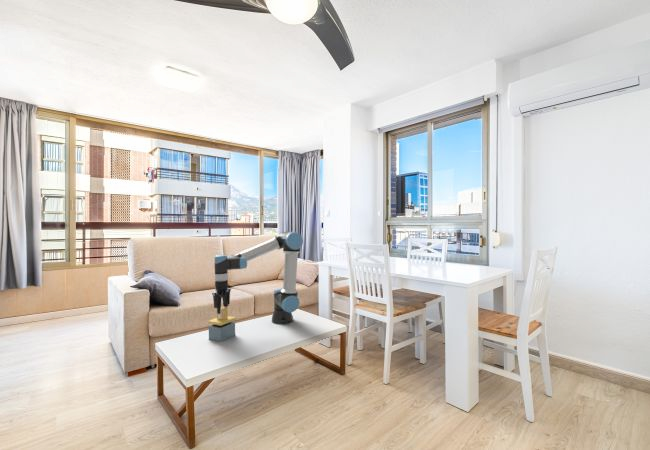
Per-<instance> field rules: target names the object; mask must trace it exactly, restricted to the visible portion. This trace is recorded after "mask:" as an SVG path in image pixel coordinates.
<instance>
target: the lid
mask: <svg viewBox="0 0 650 450" xmlns="http://www.w3.org/2000/svg"><path fill="white" fill-rule="evenodd" d="M221 308H222V319H218V314H217V313H216V317H215V318H212V319H210V320H209V319H208V324H211V325H213V324H215V325H220V326H222V325H224V324H227V323H229V322H234V320H235V321H236V320H237V317H236V316H230V315H228V312H229V309H228V307H227V308H226V307H222V306H221Z"/></svg>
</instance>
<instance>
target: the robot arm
mask: <svg viewBox="0 0 650 450" xmlns="http://www.w3.org/2000/svg"><path fill="white" fill-rule="evenodd" d="M303 243H304V238H303V236H302V235H301V234H300V233H299V232H298V231H297V232H296V231H284V232H282V233H280V234H278V235H276V236H273V238H272V239H269V240H267V241H265V242H263V243H260V244H257V245H255V246H253V247H250V248H248V249H245V250H242V251H240V252H238V253H235V254H231V255H229V256H227V255H226V254H217V255H215V256H214V264H213V265H214V280H215V281H214V287H215V291H214V292H212V293H211V294H212V299H213V307H214V309H216V315H217V314H218V319H222V308H221V307H226V308H227V309H228V307H229V305H230V303H231V302H230V298H231V291H232V290H231V288H228V285H229V284H228V281H229V280H228V279H229V278H228V275H229V274H228V271H231V270H232V271H233V270H244V269H247V266H248V262H249V261H253V259H256V258H258V257H261V256H264V255H266V254H268V253H270V252H273V251H275V250H281V249H282V251H283V253H284V266H283V267H284V268H283V285H282V288H276V289H274V292H273V314H272V316H271V322H272V323H274V324H276V325H277V324H278V325H283V324H285V325H286V324H289V323H291V322H293V321H294V316H293V314H292V313H293V312H296V310H297V309H299V306H300V299H299V297H298V295H299V294H298V293H299V292H298V290H297V288H296V287H297V274H298V273H297V272H298V270H297V269H298V255H299V254H300V253H301V248H302V246H303Z"/></svg>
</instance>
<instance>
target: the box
mask: <svg viewBox="0 0 650 450" xmlns="http://www.w3.org/2000/svg"><path fill="white" fill-rule="evenodd" d="M234 336H236V322H234V321H231V322H229V323H227V324H224V325H222V326H220V325H215V324H211V325H209V326H208V340H211V341H212V340H213V341H216V342H220V343H221V342H224V341H225V340H227V339H231V338H232V337H234Z"/></svg>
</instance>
